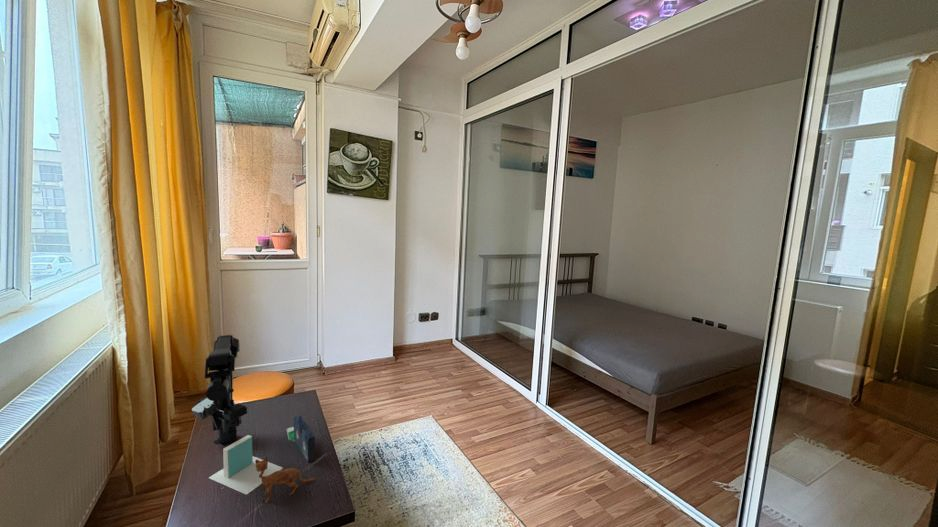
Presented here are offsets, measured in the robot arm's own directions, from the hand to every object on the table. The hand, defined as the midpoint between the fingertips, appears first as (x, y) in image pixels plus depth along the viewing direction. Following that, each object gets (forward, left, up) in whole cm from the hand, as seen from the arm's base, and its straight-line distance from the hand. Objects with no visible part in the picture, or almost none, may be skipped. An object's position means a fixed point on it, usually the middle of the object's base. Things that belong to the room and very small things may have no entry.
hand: (222, 430), depth 128 cm
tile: (+8, 0, -12) cm, 15 cm away
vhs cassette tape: (+19, +18, -13) cm, 29 cm away
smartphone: (+10, +24, -14) cm, 29 cm away
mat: (+12, 0, -13) cm, 18 cm away
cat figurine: (+30, 0, -13) cm, 33 cm away
